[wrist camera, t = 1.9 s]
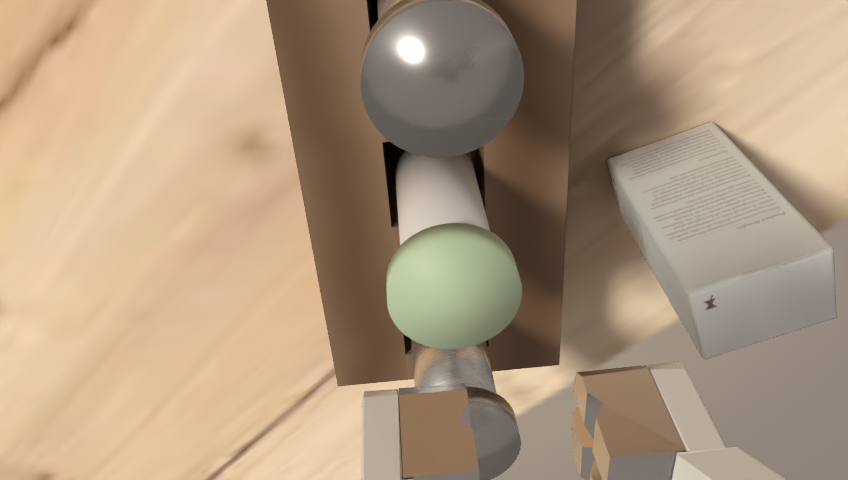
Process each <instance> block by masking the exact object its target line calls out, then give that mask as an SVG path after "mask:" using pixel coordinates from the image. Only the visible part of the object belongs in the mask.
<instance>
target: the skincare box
mask: <svg viewBox="0 0 848 480" xmlns="http://www.w3.org/2000/svg"><path fill="white" fill-rule="evenodd" d="M607 163H608V167H609V170H610V174H611V178H612V183H613V186H614V190H615V193H616V197H617V200H618V204H619V208H620V211H621V216H622V218H623V220H624V222H625V224H626V226H627V227H628V229H629V231H630V233H631V234H632V236H633V238H634V240H635V242H636V243H637V245H638V247H639V248H640V250H641V252H642V254H643V255H644V257H645V259H646V261H647V262H648V264H649V266H650V268H651V269H652V271H653V273H654V275H655V276H656V278H657V280H658V282H659V283H660V285H661V287H662V288H663V290H664V292H665V294H666V295H667V297H668V299H669V301H670V303H671V304H672V306H673V308H674V310H675V311H676V313H677V315H678V316H679V318H680V320H681V322H682V324H683V325H684V327H685V328H686V330H687V332H688V333H689V335H690V337H691V339H692V341H693V342H694V344H695V346H696V348H697V350H698V351H699V353H700V354H701V356H702V358H703V359H709V358H712V357H715V356H718V355H721V354H724V353H727V352H730V351H733V350H736V349H739V348H742V347H745V346H748V345H751V344H755V343H758V342H761V341H764V340H767V339H770V338H774V337H777V336H780V335H783V334H786V333H789V332H792V331H795V330H799V329H801V328H804V327H808V326H811V325H814V324H818V323H821V322H824V321H827V320H830V319H834V318H836V316H837V314H836V294H835V269H834V248H833V246H832V245H831V244H830V243H829V242H828V241H827V240H826V239H825V238H824V237H823V236H822V235H821V234H820V233H819V232H818V231H817V230H816V229H815V228H814V227H813V226H812V225H811V224H810V223H809V222H808V221H807V219H806V218H805V217H804V216H803V215H802V214H801V213H800V212H799V211H798V210H797V209H796V208H795V207H794V206H793V205H792V204H791V203H790V202H789V201H788V200H787V199H786V198H785V197H784V195H783V194H782V193H781V192H780V191H779V190H778V189H777V188H776V187H775V186H774V185H773V184H772V183H771V182H770V181H769V180H768V179H767V178H766V177H765V176H764V175H763V174H762V173H761V171H760V170H759V169H758V168H757V167H756V166H755V165H754V164H753V163H752V162H751V161H750V160H749V159H748V158H747V157H746V156H745V154H744V153H743V152H742V151H741V150H740V149H739V148H738V147H737V146H736V145H735V144H734V143H733V142H732V141H731V140H730V139H729V138H728V137H727V135H726V134H725V133H724V132H723V131H722V130H721V129H720V128H719V127H718V126H717V125H716V124H715V123H713V122H709V123H706V124H704V125H701V126H698V127H695V128H693V129H690V130H687V131H684V132H682V133H679V134H676V135H673V136H671V137H668V138H665V139H662V140H660V141H657V142H654V143H651V144H648V145H646V146H643V147H640V148H637V149H634V150H632V151H629V152H626V153H623V154H621V155H618V156H615V157H612V158H609V159H608V160H607Z"/></svg>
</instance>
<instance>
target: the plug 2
mask: <svg viewBox="0 0 848 480" xmlns="http://www.w3.org/2000/svg"><path fill="white" fill-rule="evenodd" d="M411 343H412V356H413V369H414V382H415V387H426V386H440V385H454V384H466V389H467V395H468V401H469V413H470V427H471V428H472V429H473V433H474V440H475V447H476V453H477V460H478V467H479V480H490V479H493V478H495V477H497V476H499V475H500V474H502V473H503V472H504V471H506V470H507V469H508V468H509V467H510V466H511V465H512V464H513V463H514V461H515V460H516V458H517V456H518V454H519V451H520V446H521V441H520V435H519V430H518V426H517V422H516V417H515V413H514V411H513V409H512V407H511V406H510V404H509V403H508V402H507V401H506V400H505V399H504V398H503V397H501V396H500V395H498V394H496V389H495V385H494V380H493V375H492V370H491V365H490V360H489V355H488V350H487V345H486V341H485V342H483V343H480V344H477V345H474V346H470V347H466V348H460V349H439V348H433V347H429V346H425V345H423V344H420V343H417V342H416V341H414V340H412V339H411Z"/></svg>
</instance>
